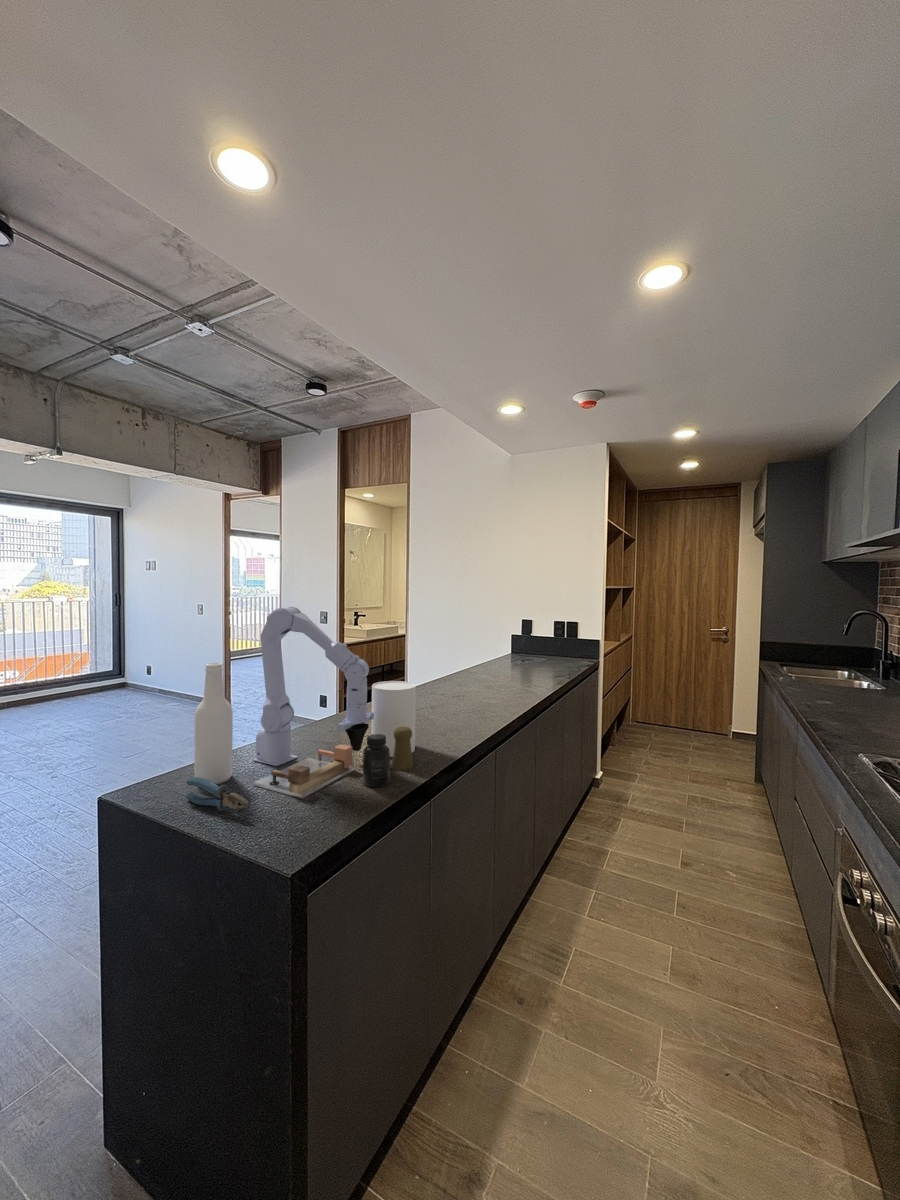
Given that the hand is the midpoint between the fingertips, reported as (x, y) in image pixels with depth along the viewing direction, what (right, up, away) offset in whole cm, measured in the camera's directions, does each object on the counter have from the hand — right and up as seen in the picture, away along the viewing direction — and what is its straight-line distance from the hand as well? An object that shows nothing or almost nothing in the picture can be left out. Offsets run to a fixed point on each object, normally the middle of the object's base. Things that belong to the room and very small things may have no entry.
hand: (356, 749), depth 139 cm
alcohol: (-34, -4, -13) cm, 37 cm away
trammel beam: (-9, -3, -12) cm, 16 cm away
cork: (+13, -4, -2) cm, 14 cm away
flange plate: (-11, -4, -11) cm, 16 cm away
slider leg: (-5, -3, -4) cm, 7 cm away
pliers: (-26, -4, -30) cm, 40 cm away
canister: (+9, -4, +12) cm, 16 cm away
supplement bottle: (+8, -5, -14) cm, 16 cm away
